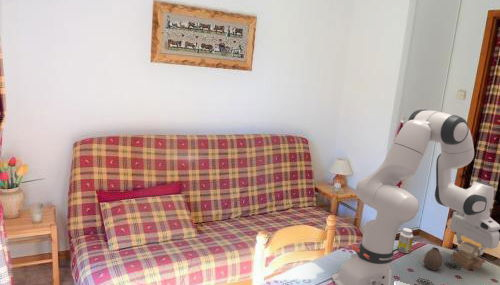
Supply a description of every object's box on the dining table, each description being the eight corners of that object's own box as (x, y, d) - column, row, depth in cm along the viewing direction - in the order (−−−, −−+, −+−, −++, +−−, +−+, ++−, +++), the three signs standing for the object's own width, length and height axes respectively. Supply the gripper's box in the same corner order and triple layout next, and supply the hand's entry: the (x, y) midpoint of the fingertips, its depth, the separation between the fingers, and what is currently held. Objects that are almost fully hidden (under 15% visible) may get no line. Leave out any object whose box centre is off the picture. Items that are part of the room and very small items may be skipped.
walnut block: (465, 269, 158) (467, 260, 157) (451, 259, 166) (453, 251, 165) (481, 268, 160) (483, 260, 159) (466, 259, 167) (468, 250, 167)
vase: (443, 273, 152) (447, 254, 151) (425, 270, 154) (428, 250, 152) (438, 265, 159) (442, 246, 157) (421, 262, 160) (424, 243, 159)
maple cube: (469, 259, 159) (471, 248, 158) (458, 253, 163) (460, 242, 162) (476, 257, 161) (479, 246, 160) (466, 251, 165) (468, 241, 164)
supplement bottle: (408, 248, 172) (412, 227, 170) (412, 254, 167) (416, 233, 165) (395, 247, 173) (399, 226, 170) (399, 252, 167) (403, 231, 165)
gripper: (449, 209, 166) (443, 238, 169) (495, 229, 148) (487, 261, 151) (458, 208, 169) (452, 236, 172) (504, 227, 151) (497, 258, 154)
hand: (469, 248), depth 161 cm, fingers open, 8 cm apart
